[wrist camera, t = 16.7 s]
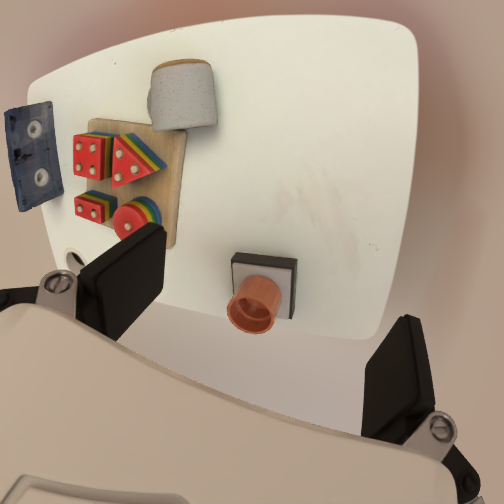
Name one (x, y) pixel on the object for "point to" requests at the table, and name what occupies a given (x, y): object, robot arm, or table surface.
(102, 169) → the shape sorter
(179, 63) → the ceramic mug
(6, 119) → the vhs cassette tape
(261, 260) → the scale
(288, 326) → the table surface
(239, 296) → the terracotta pot
